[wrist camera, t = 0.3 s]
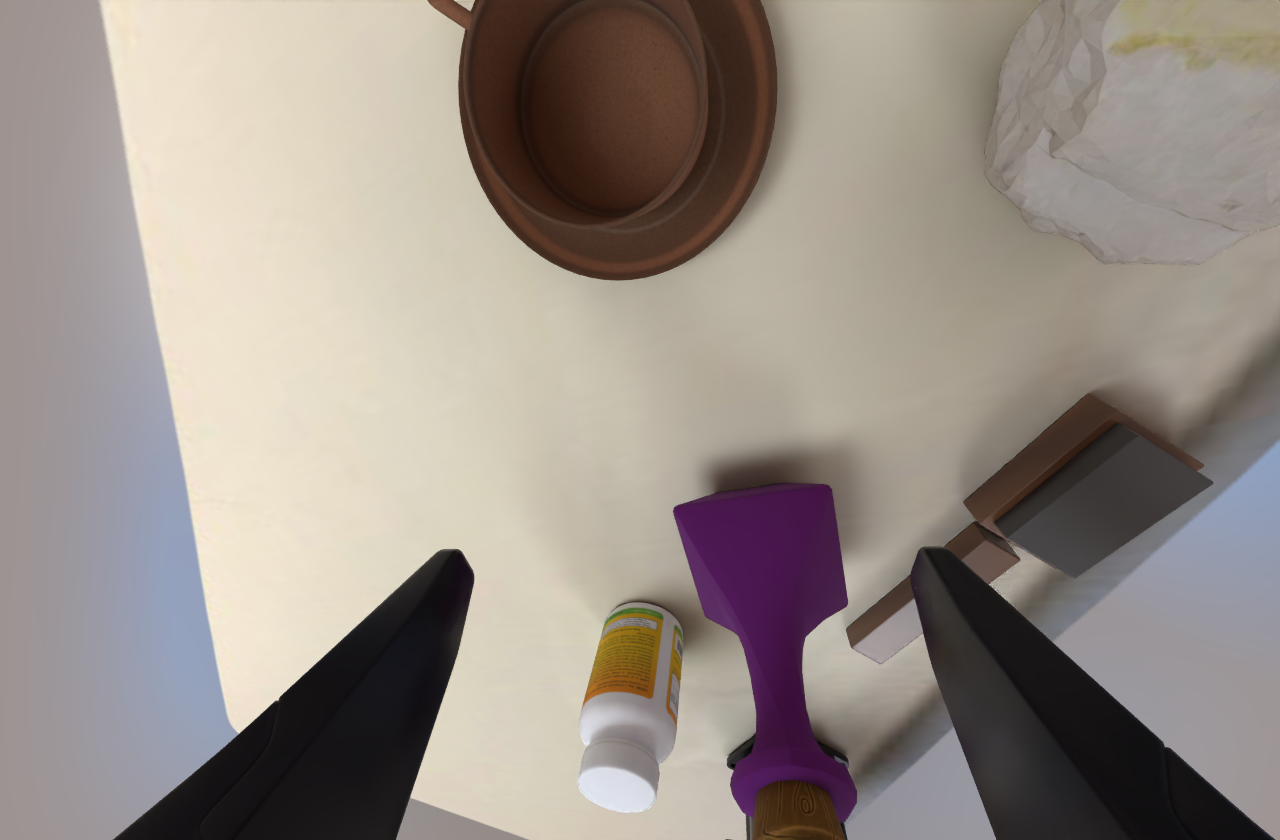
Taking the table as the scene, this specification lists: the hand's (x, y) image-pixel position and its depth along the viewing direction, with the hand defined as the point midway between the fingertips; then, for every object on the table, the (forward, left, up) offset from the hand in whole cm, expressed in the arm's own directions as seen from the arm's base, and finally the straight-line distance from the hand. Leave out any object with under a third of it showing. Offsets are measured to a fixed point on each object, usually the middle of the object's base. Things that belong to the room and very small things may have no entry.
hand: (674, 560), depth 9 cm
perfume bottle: (-7, -8, -15) cm, 19 cm away
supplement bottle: (-19, -7, -15) cm, 25 cm away
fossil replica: (+15, -8, -15) cm, 23 cm away
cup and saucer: (+6, +8, -15) cm, 18 cm away
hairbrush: (-2, -18, -15) cm, 24 cm away
